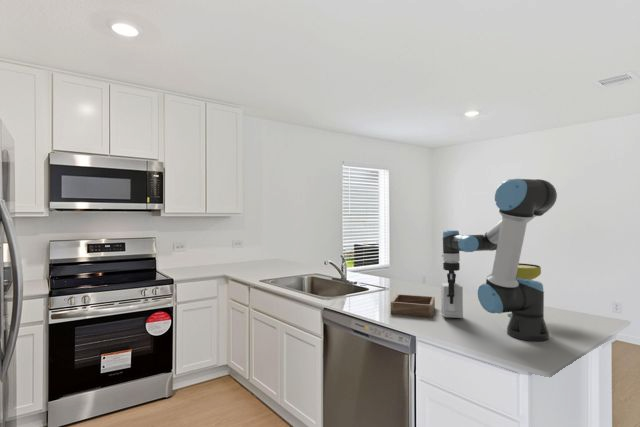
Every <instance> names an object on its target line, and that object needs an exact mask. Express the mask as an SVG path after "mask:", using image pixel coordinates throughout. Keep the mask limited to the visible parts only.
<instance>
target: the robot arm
mask: <svg viewBox="0 0 640 427" xmlns="http://www.w3.org/2000/svg"><path fill="white" fill-rule="evenodd" d="M557 199H558V193H557V190H556V187H555V186H554V185H553V184H552V183H551V182H549V181H548V180H545V179H531V178H529V179H527V178H513V179H506V180H504V181H502V183H500V184H499V185H498V186H497V188H496V191H495V193H494V201H495V205H496V208H498V209H499V211H498V213H499V214H500V215H501V216H502V218H501V220H499V221H498V222H497V223H496V224H494V226H492V227H491V228H490V229H489V230H488V231H486V232H485V233H483V234H460V231H459V230H455V229H452V230H451V229H450V230H449V229H448V230H444V231H443V232H442V255H441V257H443V258H442V259H443V261H444V262H443V264H442V269H443V270H444V271H448V273H446V277H447V283H449V294H448V295H447V297H448V299H449V310H450V311H455V297H454V283H456V279H457V274H456V272H457V271H460V270H461V269H460V268H461V266H460V260H461V259H460V258H461V257H460V255H461V254H460V252H464V253H473V252H481V251H482V252H484V251H490V252H492V251H495V255H494V261H493V266H492V272H491V274H488V275H487V276H486V279H485V283H482V284H481V285H479V287H478V289H477V297H478V301H479V303H480V305H481V307H482V309H484V310H485V311H486V312H487V313H491V314H499V315H500V314H503V313H512V315H511V318H510V317H509V321H508V324H507V327H506V333H507V335H508V336H510V337H512V338H515V339H518V340H523V341H528V342H544V341H548V340H549V339H550V332H549V329H548V326H547V324H546V321H545V318H544V317H545V316H544V303H545V302H544V301H545V300H544V299H545V297H544V296H545V294H544V293H545V291H544V285H543V283H542V282H540V281H539V280H538V281H537V280H534V279H532V280H528V279H521V278H516V274H517V269H518V264H519V263H520V258H521V253H522V251H523V250H522V249H523V244H524V241H525V240H524V239H525V235H526V229H527V224H528V223H530V222H531V221H532V220H533V219H535V218H536V217H541V216H543V215H544V214H546V213H547V212H549V211H550V210H551V209H552V208H553V206H554V205H555V203H556V202H557ZM450 293H453V294H450Z"/></svg>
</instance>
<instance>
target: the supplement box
mask: <svg viewBox="0 0 640 427" xmlns="http://www.w3.org/2000/svg"><path fill="white" fill-rule="evenodd" d="M440 289H441V291H440V293H441V296H440V298H441V315H442V316H443V318H458V319H463V318H464V306H463V303H464V301H463V300H464V298H463V296H464V295H463V294H464V293H463V290H464V289H463V286H462V285H461V284H460V283H456V282H455V283H454V297H455V311H450V310H449V299H448V297H447V295H448V294H449V283H448V282H446V283H445V282H444V283H443V282H442V283H441V288H440ZM450 294H453V293H450Z"/></svg>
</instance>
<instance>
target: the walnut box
mask: <svg viewBox="0 0 640 427" xmlns="http://www.w3.org/2000/svg"><path fill="white" fill-rule="evenodd" d="M435 298H436V297H435V296H428V295H414V294H401V293H400V294H399V293H397V294H396V295H395V296H394V297H393V299H392V300H391V301H390V315H395V316H396V315H399V316H409V317H420V318H430V319H431V318H433V315H434V311H435V309H436V306H435V305H436V304H435V302H436V301H435V300H436V299H435Z"/></svg>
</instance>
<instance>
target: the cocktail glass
mask: <svg viewBox="0 0 640 427" xmlns="http://www.w3.org/2000/svg"><path fill="white" fill-rule="evenodd" d="M541 273H542V268H541V266H540V265H538V264H531V263H520V262H519V264H518V269H517V274H516V278H521V279H528V280H534V279H536V278H538V277H539V276H540V275H541ZM511 315H512V312H509V313H508V314H507V317H509V319H510V318H511Z"/></svg>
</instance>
